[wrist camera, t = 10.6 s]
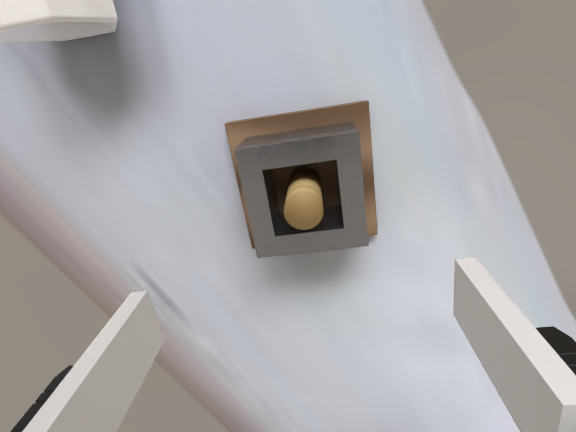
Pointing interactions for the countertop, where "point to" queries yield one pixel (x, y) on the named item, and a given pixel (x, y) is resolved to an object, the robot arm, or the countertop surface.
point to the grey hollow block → (296, 151)
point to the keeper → (314, 176)
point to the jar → (55, 19)
